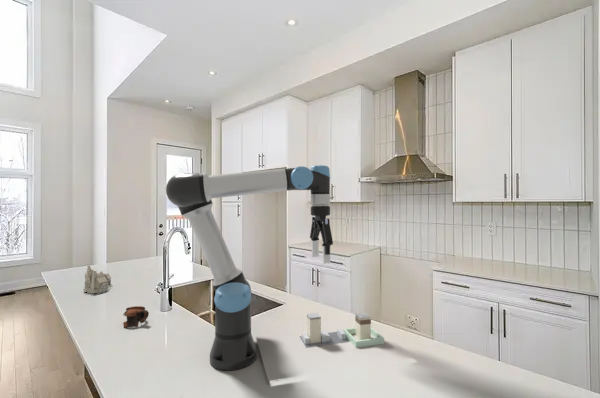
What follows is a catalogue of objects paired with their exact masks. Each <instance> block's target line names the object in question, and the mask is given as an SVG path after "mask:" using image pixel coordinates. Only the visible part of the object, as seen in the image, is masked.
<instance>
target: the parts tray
mask: <svg viewBox="0 0 600 398" xmlns="http://www.w3.org/2000/svg"><path fill="white" fill-rule="evenodd" d="M342 330H343V331H344V332H345V333H346V339H347V340H348V341H349V343H351V344H352V345H353V346H354V347H355V348H362V347H369V346H374V345H375V346H377V345H383V344H385V337H384V336H382V335H381V334H380V333H379V332H378V331H377V330H375V328H373V327H371V335H372V337H373V338H372V337H371V339H365V340H358V339H357V338H356V337H354V336H353V334H355V335H356V326H355V327H350V328H343V329H342Z"/></svg>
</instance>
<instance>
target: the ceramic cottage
mask: <svg viewBox="0 0 600 398" xmlns="http://www.w3.org/2000/svg"><path fill="white" fill-rule="evenodd" d="M86 268H87V269H86V272H85V273H84V278H85V279H84V287H83V291H84V292H87V293H86V294H89V293H93V294H92V295H95V294H94V293H99V294H103V293H102V292H104V293H106V292H105V291H107V292H108V290H109V289H110V288H111V287H112V286H113V287H114V285H113V284H112V277H111V274H110V273H104V271H102V270H101V271H100V272H97V270H96V269H92V267H91V266H90V265H87V267H86ZM113 287H112V288H113ZM112 288H111V289H112ZM111 289H110V290H111ZM110 290H109V291H110ZM83 291H82V292H83ZM84 292H83V293H84Z"/></svg>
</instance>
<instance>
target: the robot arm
mask: <svg viewBox="0 0 600 398" xmlns="http://www.w3.org/2000/svg"><path fill="white" fill-rule="evenodd" d="M330 173H331V171H330V167H329V166H328V165H322V164H320V165H311V166H310V168H308V167H307V166H297V167H296V166H295V167H290V168H281V169H280V168H278V169H277V168H276V169H267V170H265V169H264V170H257V171H255V170H254V171H245V172H235V173H225V174H224V173H223V174H222V173H221V174H212V175H211V174H210V175H209V174H208V173H207V172H200V173H199V172H196V173H194V172H192V173H190V172H181V173H177V174H174V175H173V176H171V178H169V179H168V181H167V183H166V186H165V194H166V197H167V199H168V200H169V202H171V203H172V204H173V205H175V206H177V208H178V210H179V211H180V214H181V217H183V218H185V219H187V220H188V221H189V225H190V227H191V228H192V230H193V231H192V232H193V233H194V235H195V238H196V239H197V242H198V245H199V247H200V248H201V249H200V250H201V252H202V253H203V255H204V258H205V261H206V263H207V265H208V267H209V270H210V271H211V274H212V276H213V281H212V283H211V284H212V287H213V289H214V292H215V293H214V294H215V295H214V298H213V300H214V328H215V329H214V334H215V335H214V339H213V342H212V346H211V349H210V351H209V363H210V365H211V366H212V368H214V369H218V370H222V371H235V370H240V369H243V368H246V367H248V366H250V365H251V364H253V363H254V362H255V361H256V360H257V346H256V343H255V340H254V338H253V334H252V289H251V287H252V286H251V285H250V283H249V282H248V281H247V279H246V277H245V275H244V273H243V270H242V269H240V268H237V267H236V265H235V262H234V260H233V258H232V256H231V253H230V251H229V248H228V246H227V244H226V242H225V239H224V237H223V235H222V233H221V230H220V227H219V226H218V223H217V221H216V219H215V217H214V213H213V211H212V207H213V205H214V204H213V203H214V202H213V201H212V199H218V198H227V197H229V198H230V197H239V196H248V195H249V196H250V195H256V194H257V195H259V194H267V193H276V192H284V191H286V192H287V191H310V206H311V207H310V216H312V217H311V227H310V234H309V239H311V257H312V258H318V257H320V256H319V254H320V253H319V251H320V250H319V247H320V246H319V243H320V238H319V236H320V235H321V238H322V242H323V243H322V244H321V246H322V264H325V265H327V264H331V246H332V245H334V242H333V236H332V229H331V224H330V222H331V221H330V218H327V216H330V215H331V206H330V205H331V199H332V197H331V190H330V189H331V188H330V187H331V186H330V185H331V174H330Z"/></svg>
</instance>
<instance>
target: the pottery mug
mask: <svg viewBox="0 0 600 398" xmlns="http://www.w3.org/2000/svg"><path fill="white" fill-rule="evenodd" d="M149 313H150V312H149V311H148V310H146V307H145V306H142V305H141V306H139V305H138V306H129V307H126V308H125V311H124V312H123V316H124V317H126V321H123V323H122V325H123V328H129V327H130V328H135V327H139V323H140V324H143V323H145V321H146V320H147V319H148V317H149Z"/></svg>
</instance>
